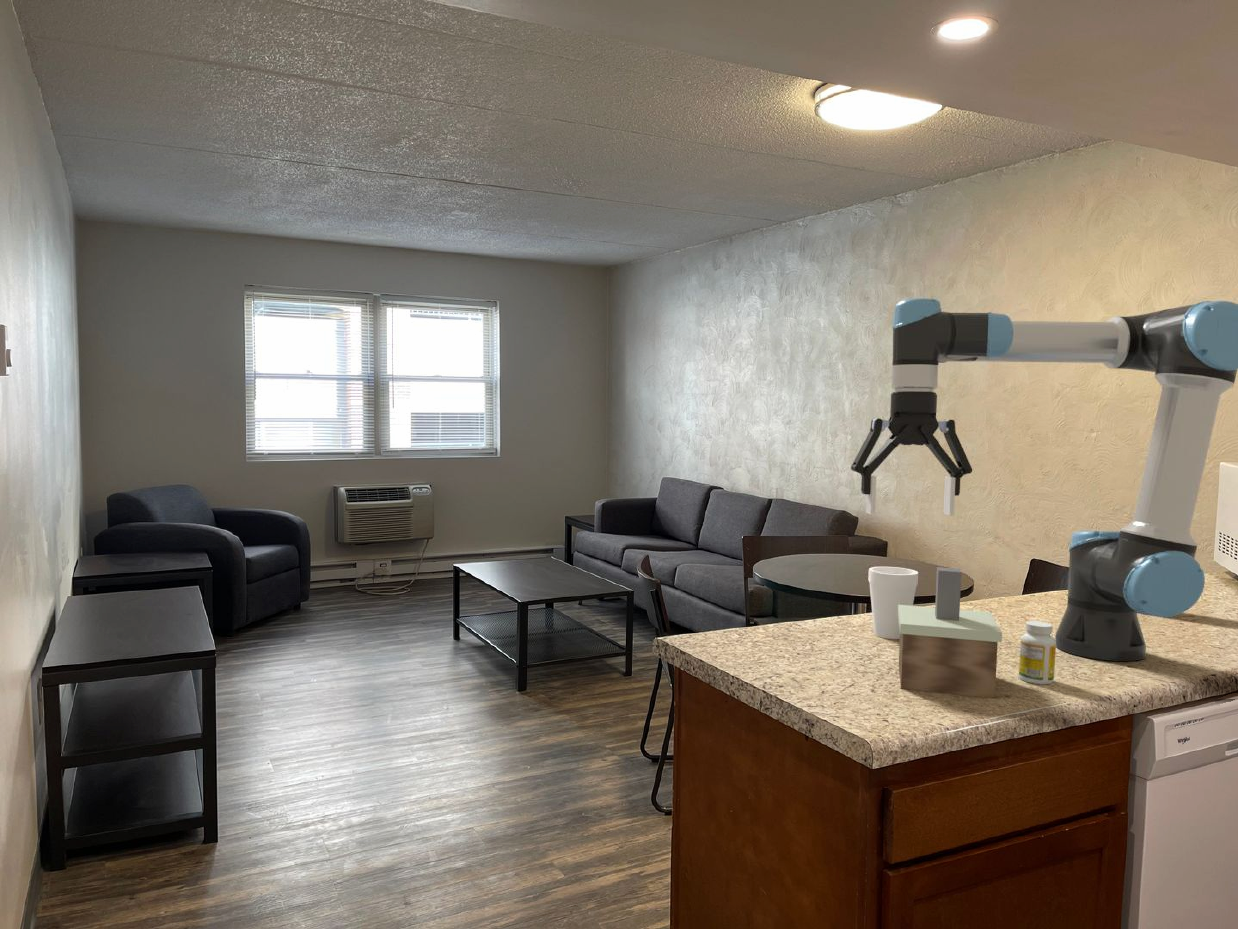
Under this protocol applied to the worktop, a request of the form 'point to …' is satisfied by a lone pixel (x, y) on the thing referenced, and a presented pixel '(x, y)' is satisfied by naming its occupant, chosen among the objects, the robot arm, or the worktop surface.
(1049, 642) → the supplement bottle
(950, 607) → the lid
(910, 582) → the foam cup
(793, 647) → the worktop surface
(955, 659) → the box
